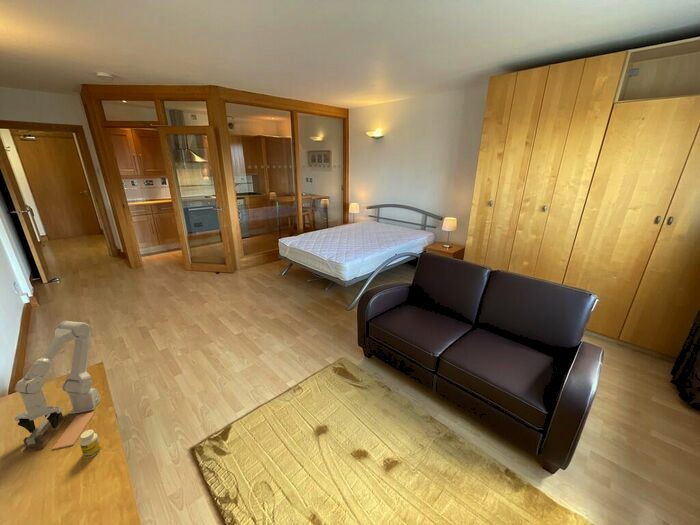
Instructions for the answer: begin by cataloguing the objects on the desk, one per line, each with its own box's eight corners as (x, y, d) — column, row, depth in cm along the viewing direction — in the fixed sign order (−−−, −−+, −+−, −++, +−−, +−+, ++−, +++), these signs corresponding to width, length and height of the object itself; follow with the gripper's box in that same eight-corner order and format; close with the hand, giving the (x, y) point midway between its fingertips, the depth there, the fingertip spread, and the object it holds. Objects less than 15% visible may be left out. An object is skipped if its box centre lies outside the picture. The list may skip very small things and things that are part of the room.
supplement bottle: (81, 460, 112) (75, 441, 109) (86, 449, 116) (80, 430, 114) (99, 455, 114) (93, 436, 112) (102, 444, 119) (97, 425, 116)
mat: (95, 412, 134) (94, 411, 134) (73, 445, 118) (73, 444, 118) (76, 416, 132) (76, 415, 132) (52, 450, 116) (51, 448, 116)
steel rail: (52, 414, 129) (51, 410, 128) (59, 413, 129) (58, 409, 129) (27, 445, 114) (25, 440, 113) (35, 443, 115) (33, 439, 114)
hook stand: (50, 420, 129) (47, 411, 128) (66, 417, 131) (63, 408, 130) (23, 453, 114) (19, 443, 113) (42, 449, 116) (38, 439, 114)
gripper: (5, 414, 112) (15, 441, 116) (51, 406, 117) (59, 432, 120) (18, 401, 119) (27, 427, 122) (61, 394, 123) (69, 419, 127)
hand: (44, 428), depth 122 cm, fingers open, 7 cm apart
